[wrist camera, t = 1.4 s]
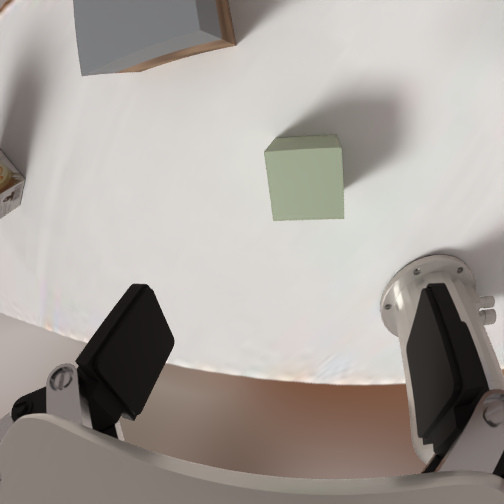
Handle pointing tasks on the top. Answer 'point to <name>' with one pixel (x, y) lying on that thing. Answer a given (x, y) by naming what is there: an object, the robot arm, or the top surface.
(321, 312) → the top surface
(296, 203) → the sage block
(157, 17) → the grey square block
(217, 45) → the walnut block
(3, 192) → the coffee box
